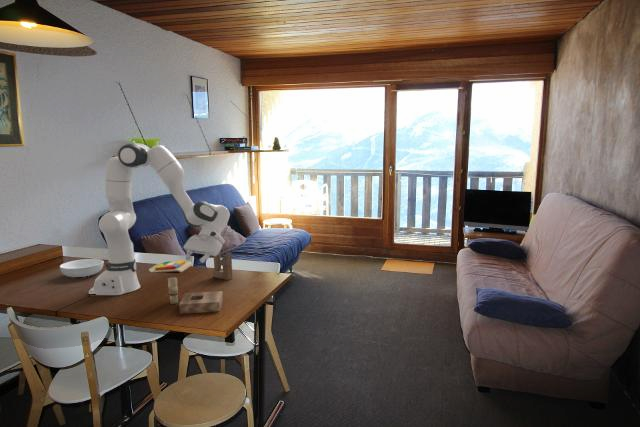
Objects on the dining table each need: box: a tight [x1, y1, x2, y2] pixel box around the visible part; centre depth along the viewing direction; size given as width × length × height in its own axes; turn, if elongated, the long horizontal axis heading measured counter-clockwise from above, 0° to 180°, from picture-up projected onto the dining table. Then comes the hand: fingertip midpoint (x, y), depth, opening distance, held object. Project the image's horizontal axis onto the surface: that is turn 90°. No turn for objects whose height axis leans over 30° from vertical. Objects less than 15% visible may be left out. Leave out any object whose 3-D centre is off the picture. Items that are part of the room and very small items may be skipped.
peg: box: [167, 276, 179, 305], centre depth 192 cm, size 4×4×11 cm
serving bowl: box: [59, 258, 105, 278], centre depth 237 cm, size 21×21×7 cm
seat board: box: [178, 290, 223, 315], centre depth 187 cm, size 16×14×4 cm
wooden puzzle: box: [148, 260, 193, 273], centre depth 249 cm, size 18×19×4 cm
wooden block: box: [212, 251, 234, 281], centre depth 227 cm, size 4×11×18 cm, turn 57°
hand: (193, 260), depth 200 cm, fingers open, 8 cm apart
